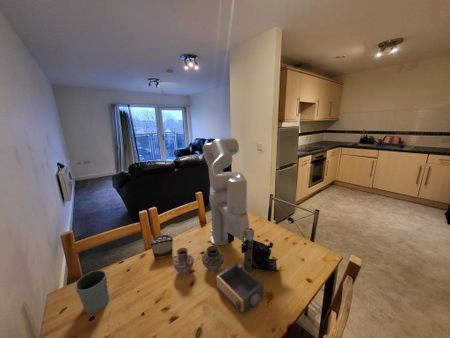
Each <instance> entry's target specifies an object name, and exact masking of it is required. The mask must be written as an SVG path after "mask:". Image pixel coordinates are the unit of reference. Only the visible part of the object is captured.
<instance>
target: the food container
mask: <svg viewBox="0 0 450 338" xmlns="http://www.w3.org/2000/svg"><path fill="white" fill-rule="evenodd" d="M173 242H175V240H174V238H173V237H172V236H171V235H169V234H161V235H158V236H156V237H154V238H153V239H151V241H150V244H149V247H151V250H152V251H151V252H152V254H153V258H154V260H156V259H160V258H161V259H162V258H164V257H169V256H173V251H174V249H173V246H174V245H173V244H174V243H173Z"/></svg>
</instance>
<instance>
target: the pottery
mask: <svg viewBox="0 0 450 338" xmlns="http://www.w3.org/2000/svg"><path fill="white" fill-rule="evenodd" d="M176 254H177V256H176V257H174V259H173V260H172V265H173V267H174V270H175V271H176V272H177V273H178V276H180V277H187V276H188V275H189V274H190V273H191V270H192V268H193V265H194V262H195V259H194V256H193V255H191V254H189V253H188V248H187V247H180V248H178V249H177V251H176ZM225 258H226V257H225V254H224V253H223V252H222V251H221V250H220V248H219V246H218V245H209V246H208V247H207V248H206V252H204V253H203V254H202V255H201V262H202V264H203V266H204V267H205V268H206V269H207V270H208V271H209V273H216V272H218V271H219V269H220V268H221V267H223V264H224V262H225Z"/></svg>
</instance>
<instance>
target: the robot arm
mask: <svg viewBox="0 0 450 338" xmlns="http://www.w3.org/2000/svg"><path fill="white" fill-rule="evenodd" d="M239 149H240V146H239V142H238V140H237V139H236V138H233V137H226V138H216V139H214V140H213V141H212V142H208V143H205V144H204V145H203V147H202V154H203V157H204V160H205V163H206V164H207V168H208V177H209V184H210V187H211V188H212V190H213V191H212V192H211V193H210V194H209V197H208V198H209V199H208V200H209V203H210V210H211V229H210V233H211V236H210V243H212V245H213V246H217V247H220V246H225V245H228V244H231V243H233V242H235V239H237V240H241V249H240V250H241V253H242V254H244V253H245V252H246V251H248V243H249V242H251V241H252V240H254V239H253V236H252V235H251V234H250V232H249V228H250V222H249V214H248V212H247V211H248V209H247V208H248V205H247V204H248V201H247V200H248V197H247V196H248V194H247V193H248V183H247V179H245V176H244V175H243V174H242V173H241V172H234V171H224V170H225V169H226V168H228V167H230V165H231V164H232V163H233V156H234V155H237V153H238V152H239V151H240V150H239ZM226 207H227V210H226V209H225V208H226ZM244 238H245V239H246V241H245V239H244Z"/></svg>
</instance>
